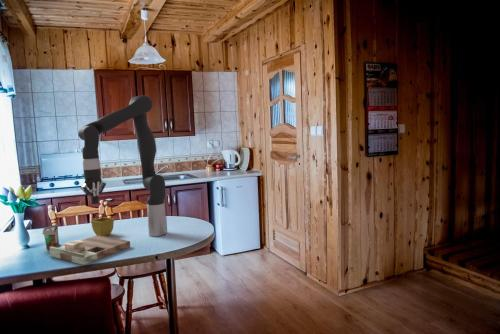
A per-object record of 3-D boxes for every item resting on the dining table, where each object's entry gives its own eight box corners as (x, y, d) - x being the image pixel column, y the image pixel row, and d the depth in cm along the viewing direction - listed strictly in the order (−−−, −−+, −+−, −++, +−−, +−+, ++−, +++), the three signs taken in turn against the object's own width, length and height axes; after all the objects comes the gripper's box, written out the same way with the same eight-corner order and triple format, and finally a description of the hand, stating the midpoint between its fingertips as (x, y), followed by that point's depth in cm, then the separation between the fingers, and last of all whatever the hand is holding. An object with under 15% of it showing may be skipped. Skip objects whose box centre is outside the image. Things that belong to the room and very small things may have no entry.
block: (77, 248, 174) (76, 239, 173) (85, 249, 171) (84, 241, 170) (65, 251, 169) (64, 243, 168) (73, 253, 166) (72, 245, 165)
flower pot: (105, 232, 210) (104, 216, 209) (115, 234, 206) (114, 218, 205) (91, 236, 203) (90, 220, 202) (102, 238, 198) (100, 222, 197)
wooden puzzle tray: (98, 240, 195) (97, 232, 194) (130, 247, 182) (129, 238, 182) (50, 256, 172) (49, 247, 172) (83, 264, 160) (82, 254, 159)
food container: (46, 244, 190) (44, 226, 189) (59, 243, 192) (57, 224, 191) (41, 252, 179) (39, 232, 178) (56, 250, 181) (54, 230, 180)
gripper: (98, 166, 182) (102, 200, 185) (74, 169, 171) (78, 206, 173) (108, 166, 179) (112, 201, 181) (84, 170, 167) (88, 207, 169)
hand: (95, 203), depth 177 cm, fingers closed
